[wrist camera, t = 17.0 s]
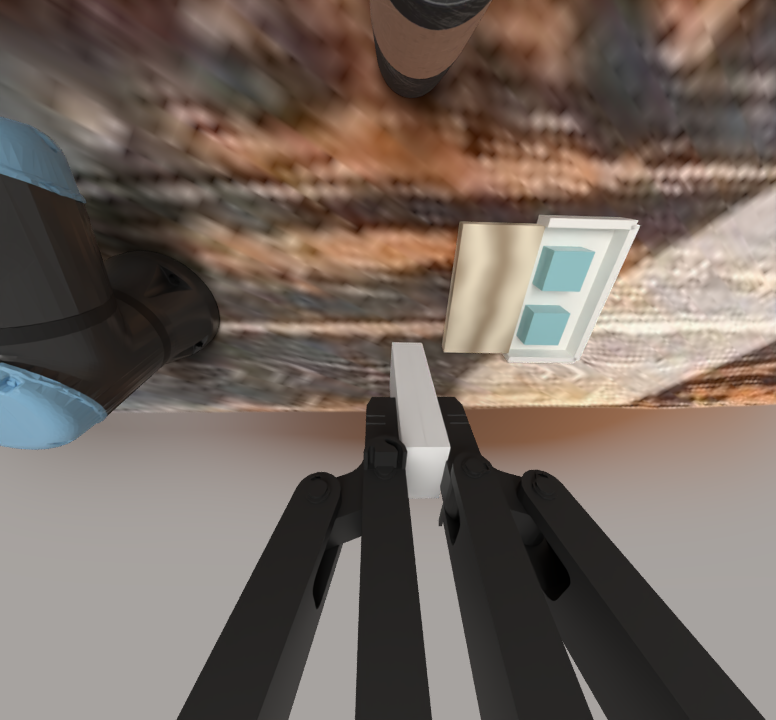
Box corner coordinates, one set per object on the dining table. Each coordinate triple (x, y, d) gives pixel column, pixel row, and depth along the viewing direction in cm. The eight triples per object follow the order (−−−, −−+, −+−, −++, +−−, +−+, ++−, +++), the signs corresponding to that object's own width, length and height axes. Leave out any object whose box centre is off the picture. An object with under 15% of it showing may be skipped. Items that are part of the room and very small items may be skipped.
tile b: (516, 335, 45) (524, 344, 42) (525, 304, 42) (534, 312, 39) (548, 335, 45) (558, 345, 42) (559, 305, 42) (570, 313, 40)
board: (441, 345, 46) (443, 352, 44) (459, 221, 36) (463, 223, 35) (503, 346, 46) (508, 353, 45) (538, 223, 37) (545, 226, 35)
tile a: (532, 283, 40) (541, 290, 38) (543, 245, 38) (554, 250, 35) (567, 284, 40) (579, 291, 38) (581, 246, 38) (595, 251, 35)
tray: (501, 352, 47) (507, 362, 44) (539, 214, 36) (550, 217, 34) (567, 353, 47) (577, 363, 45) (624, 217, 36) (642, 220, 34)
